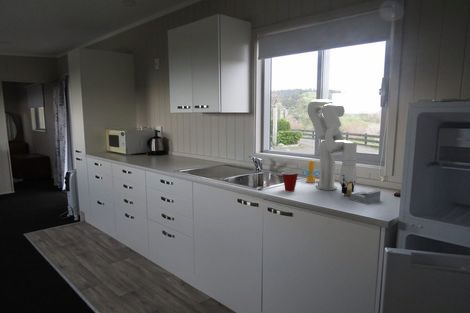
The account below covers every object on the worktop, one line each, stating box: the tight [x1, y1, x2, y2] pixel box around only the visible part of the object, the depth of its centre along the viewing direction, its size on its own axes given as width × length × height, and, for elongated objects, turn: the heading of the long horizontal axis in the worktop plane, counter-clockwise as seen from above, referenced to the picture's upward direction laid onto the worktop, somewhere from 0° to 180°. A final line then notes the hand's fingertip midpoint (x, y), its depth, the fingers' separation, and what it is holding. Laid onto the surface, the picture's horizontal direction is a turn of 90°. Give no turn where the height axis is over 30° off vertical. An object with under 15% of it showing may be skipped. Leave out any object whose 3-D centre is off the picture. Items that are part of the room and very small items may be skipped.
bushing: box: [343, 182, 353, 198], centre depth 193 cm, size 4×4×8 cm
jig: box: [350, 189, 381, 204], centre depth 184 cm, size 11×12×5 cm
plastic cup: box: [281, 171, 299, 192], centre depth 206 cm, size 11×11×12 cm
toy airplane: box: [302, 160, 320, 183], centre depth 233 cm, size 12×10×15 cm
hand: (347, 192), depth 193 cm, fingers open, 6 cm apart
